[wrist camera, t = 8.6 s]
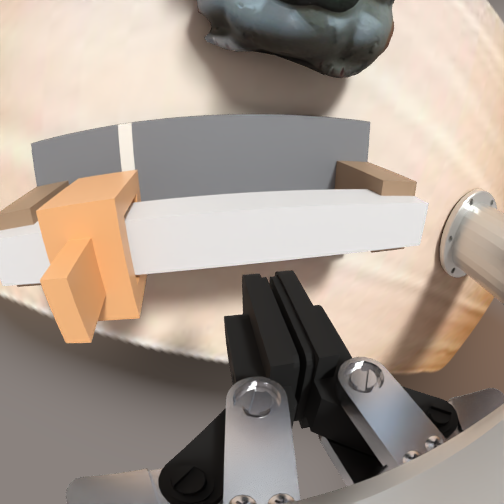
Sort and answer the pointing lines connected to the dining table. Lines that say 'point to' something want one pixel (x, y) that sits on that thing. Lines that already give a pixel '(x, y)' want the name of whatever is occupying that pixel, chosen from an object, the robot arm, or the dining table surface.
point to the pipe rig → (224, 192)
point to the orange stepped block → (90, 254)
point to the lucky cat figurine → (304, 30)
